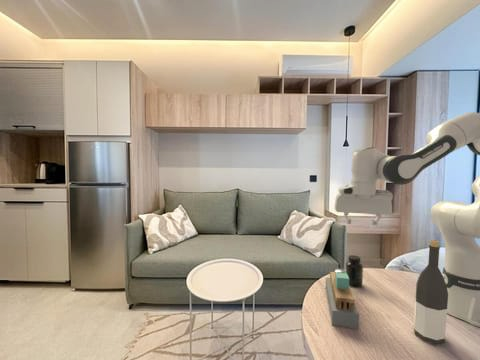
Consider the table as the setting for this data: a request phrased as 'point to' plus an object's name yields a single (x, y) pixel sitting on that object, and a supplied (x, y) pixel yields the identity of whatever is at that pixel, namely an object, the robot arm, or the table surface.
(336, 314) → the dock
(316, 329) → the table surface
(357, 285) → the supplement bottle
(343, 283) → the mint green cube
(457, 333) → the table surface
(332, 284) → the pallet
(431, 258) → the wine bottle
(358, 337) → the table surface
